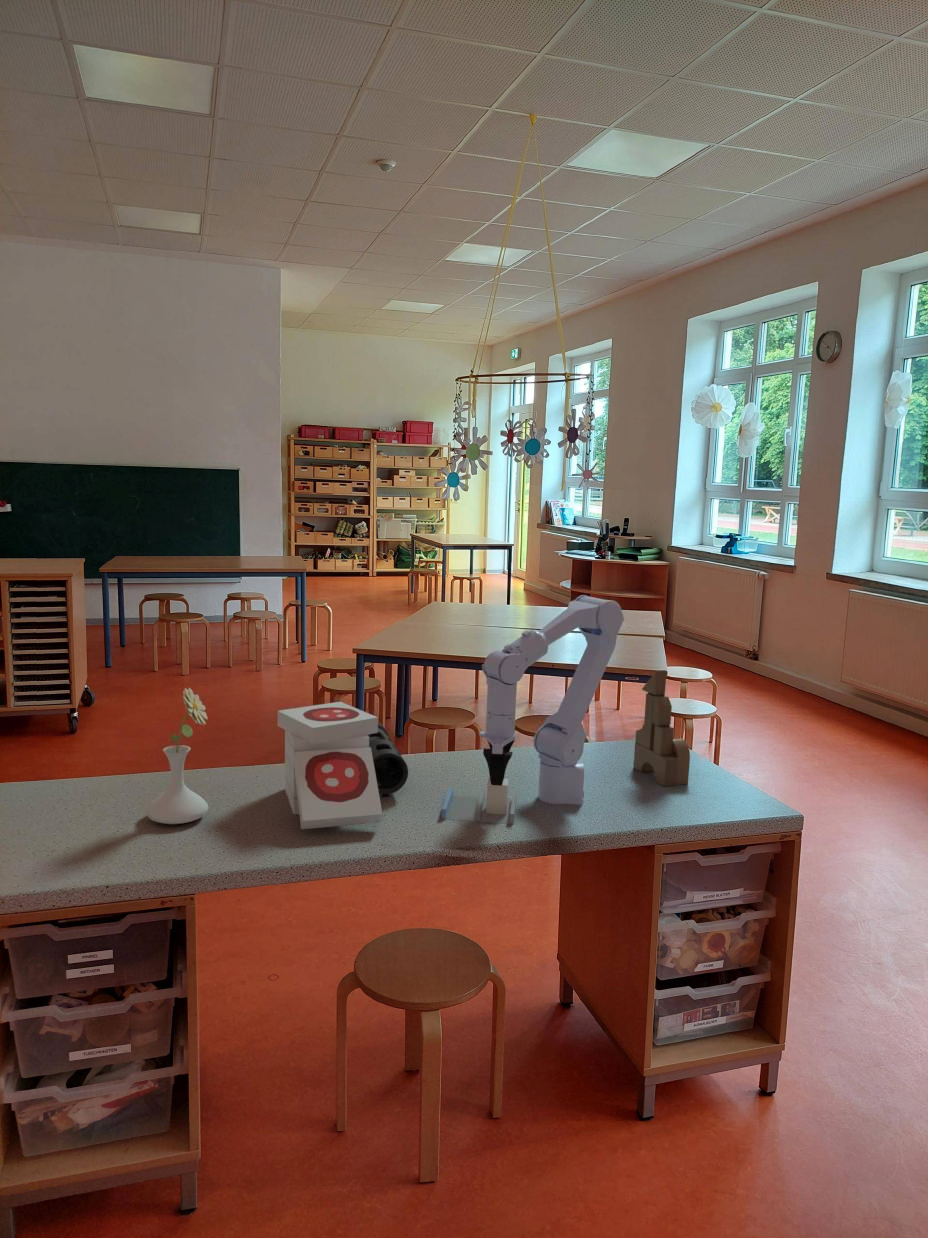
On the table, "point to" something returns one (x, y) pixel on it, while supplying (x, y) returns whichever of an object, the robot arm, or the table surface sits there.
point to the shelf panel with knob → (475, 808)
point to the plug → (497, 798)
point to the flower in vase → (180, 775)
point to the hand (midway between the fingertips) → (497, 778)
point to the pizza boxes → (330, 765)
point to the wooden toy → (660, 738)
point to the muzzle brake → (387, 763)
